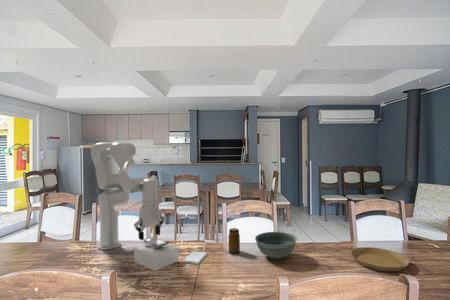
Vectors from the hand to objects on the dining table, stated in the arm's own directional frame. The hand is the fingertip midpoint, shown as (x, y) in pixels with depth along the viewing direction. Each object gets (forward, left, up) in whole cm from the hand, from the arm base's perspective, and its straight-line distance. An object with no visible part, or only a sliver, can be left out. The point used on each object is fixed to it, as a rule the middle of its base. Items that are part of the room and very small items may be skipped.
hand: (149, 237), depth 132 cm
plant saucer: (+91, +65, -12) cm, 113 cm away
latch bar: (+10, 0, -3) cm, 10 cm away
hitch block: (+5, 0, -11) cm, 12 cm away
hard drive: (+18, +14, -12) cm, 26 cm away
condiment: (+29, +33, -11) cm, 45 cm away
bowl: (+49, +41, -11) cm, 65 cm away
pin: (+1, 0, -10) cm, 10 cm away
